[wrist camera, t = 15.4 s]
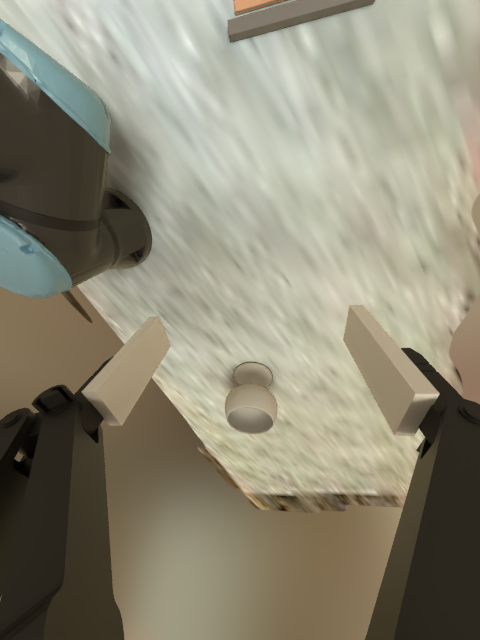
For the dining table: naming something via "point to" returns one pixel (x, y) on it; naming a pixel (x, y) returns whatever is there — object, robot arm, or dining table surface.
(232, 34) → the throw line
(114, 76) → the dining table surface
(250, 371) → the chalice
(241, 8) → the tile
